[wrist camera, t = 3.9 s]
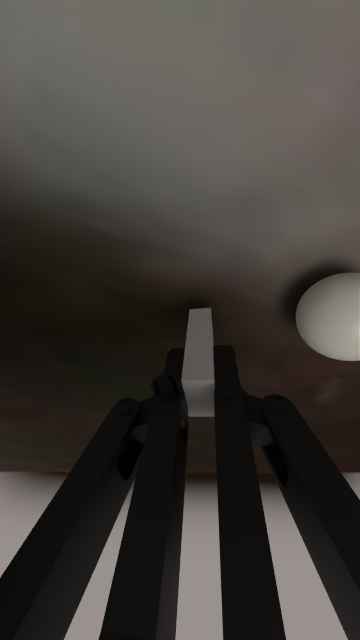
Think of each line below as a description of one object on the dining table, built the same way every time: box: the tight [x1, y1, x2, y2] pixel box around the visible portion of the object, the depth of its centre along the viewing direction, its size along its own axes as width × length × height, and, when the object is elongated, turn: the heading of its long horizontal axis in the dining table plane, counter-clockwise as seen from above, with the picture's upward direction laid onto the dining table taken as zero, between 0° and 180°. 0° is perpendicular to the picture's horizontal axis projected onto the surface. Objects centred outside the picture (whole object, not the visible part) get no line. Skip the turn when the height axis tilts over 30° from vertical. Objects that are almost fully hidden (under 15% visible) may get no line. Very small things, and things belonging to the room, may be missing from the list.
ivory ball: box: [296, 273, 360, 361], centre depth 14 cm, size 6×6×6 cm
